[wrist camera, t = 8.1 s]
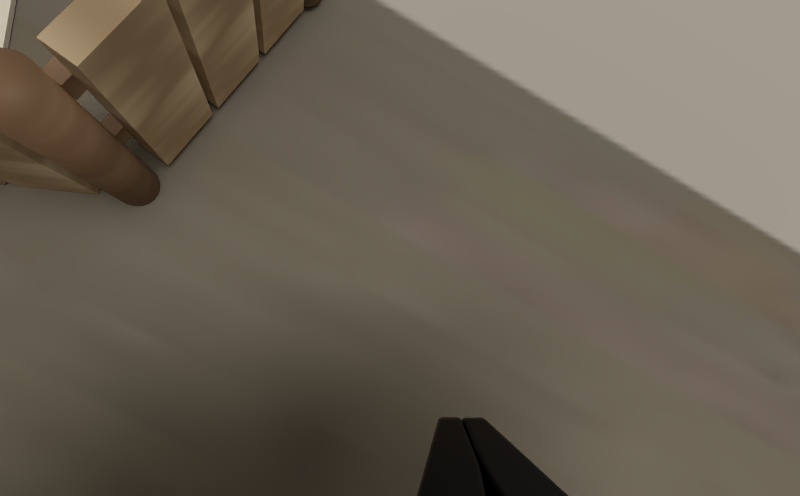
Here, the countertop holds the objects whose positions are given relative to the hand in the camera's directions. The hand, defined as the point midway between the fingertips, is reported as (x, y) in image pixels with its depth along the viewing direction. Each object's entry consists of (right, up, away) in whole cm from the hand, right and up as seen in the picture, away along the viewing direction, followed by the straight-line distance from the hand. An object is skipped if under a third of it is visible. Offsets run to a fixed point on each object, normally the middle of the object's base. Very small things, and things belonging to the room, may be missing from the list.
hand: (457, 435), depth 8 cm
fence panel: (-8, +11, +11) cm, 17 cm away
